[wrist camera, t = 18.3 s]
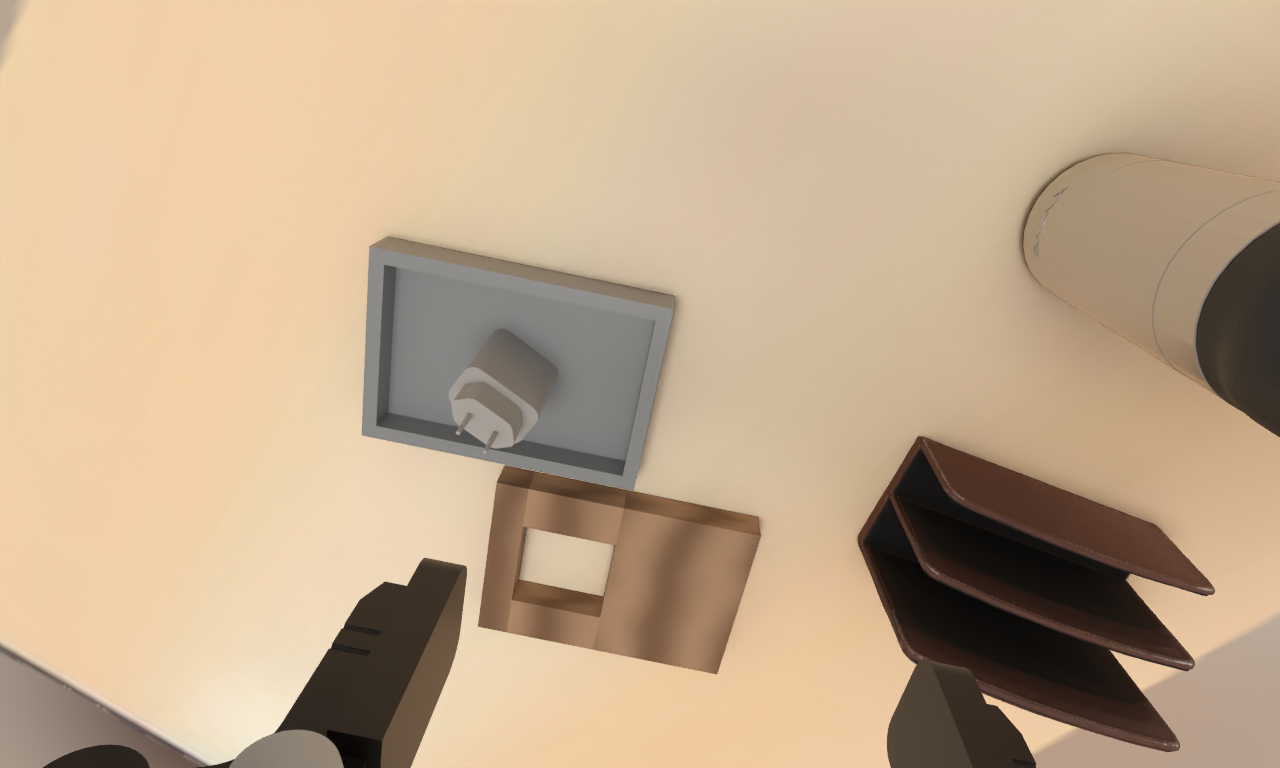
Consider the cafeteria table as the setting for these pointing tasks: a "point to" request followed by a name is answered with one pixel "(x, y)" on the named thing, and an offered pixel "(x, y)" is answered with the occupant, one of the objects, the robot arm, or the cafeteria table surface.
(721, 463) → the cafeteria table surface
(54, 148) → the cafeteria table surface
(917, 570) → the letter holder
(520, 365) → the power adapter
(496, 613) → the dock board
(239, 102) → the cafeteria table surface
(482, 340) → the tray
